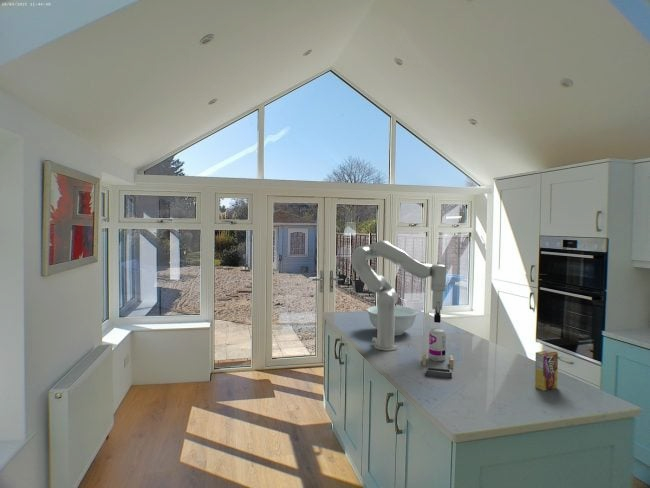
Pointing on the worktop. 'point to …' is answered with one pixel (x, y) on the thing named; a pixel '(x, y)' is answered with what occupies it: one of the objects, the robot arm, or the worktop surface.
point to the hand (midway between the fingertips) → (437, 321)
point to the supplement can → (437, 344)
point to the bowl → (396, 318)
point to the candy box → (546, 370)
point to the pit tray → (438, 372)
